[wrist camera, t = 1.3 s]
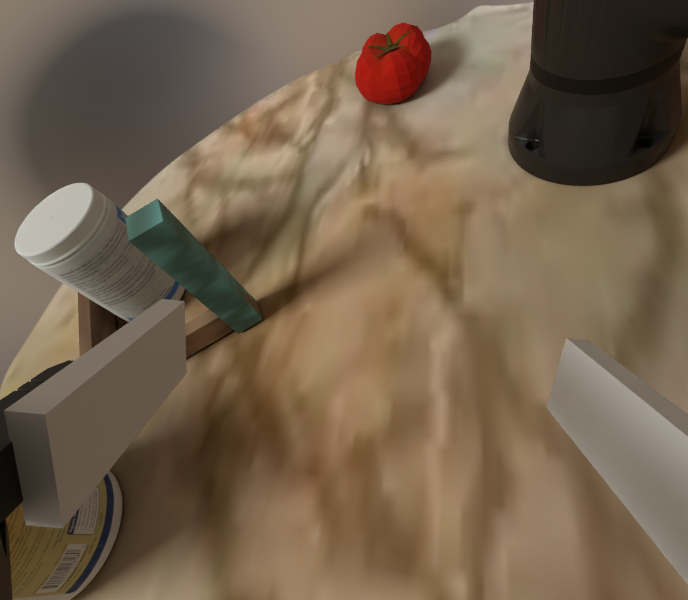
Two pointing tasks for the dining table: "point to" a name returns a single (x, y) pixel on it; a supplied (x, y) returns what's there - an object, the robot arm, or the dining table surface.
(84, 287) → the supplement tub
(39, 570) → the supplement tub
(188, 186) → the dining table surface
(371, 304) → the dining table surface
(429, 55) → the tomato
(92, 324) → the wooden frame
